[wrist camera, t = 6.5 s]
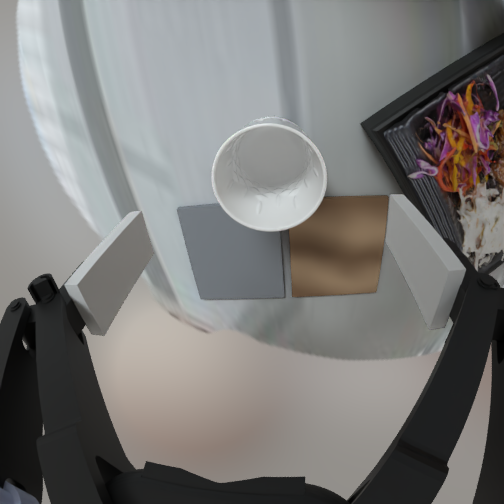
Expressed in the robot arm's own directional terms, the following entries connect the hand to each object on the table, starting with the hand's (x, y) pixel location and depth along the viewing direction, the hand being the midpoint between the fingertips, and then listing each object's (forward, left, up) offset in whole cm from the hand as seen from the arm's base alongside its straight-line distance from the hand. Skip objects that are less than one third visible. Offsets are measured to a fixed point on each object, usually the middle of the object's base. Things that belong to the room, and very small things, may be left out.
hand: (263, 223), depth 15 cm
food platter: (-5, +34, -17) cm, 39 cm away
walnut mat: (+12, +7, -16) cm, 21 cm away
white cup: (0, 0, -16) cm, 16 cm away
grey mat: (+12, -5, -16) cm, 20 cm away
